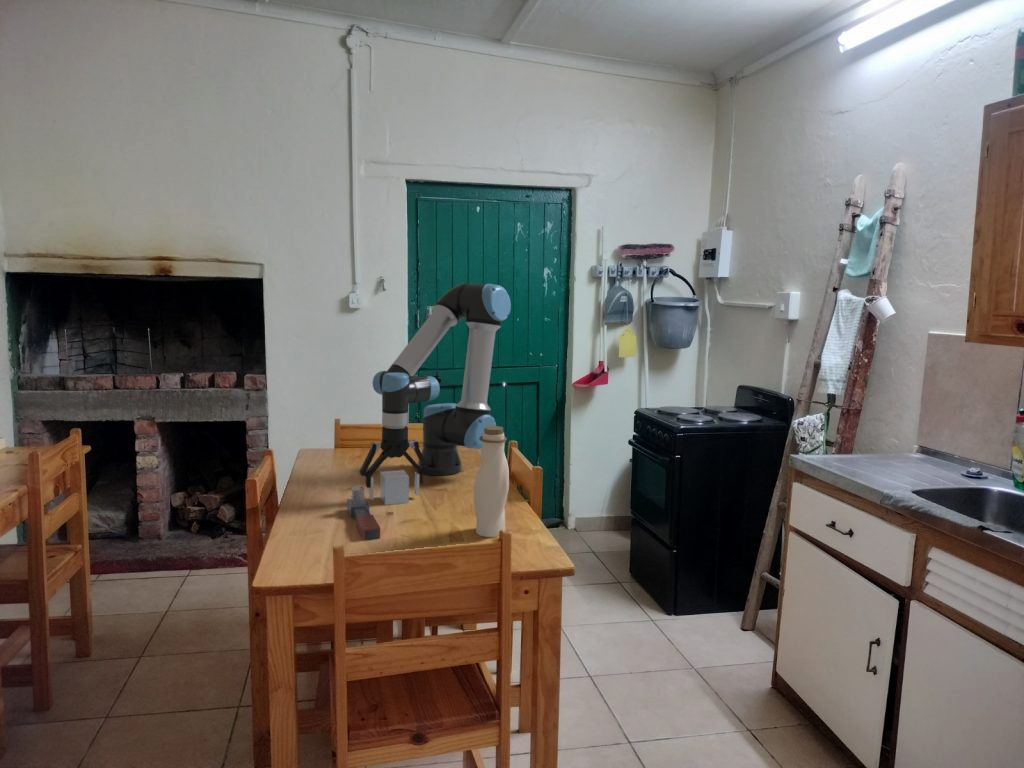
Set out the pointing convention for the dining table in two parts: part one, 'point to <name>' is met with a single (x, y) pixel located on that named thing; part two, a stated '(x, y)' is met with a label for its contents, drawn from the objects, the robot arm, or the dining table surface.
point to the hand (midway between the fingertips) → (394, 496)
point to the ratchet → (362, 515)
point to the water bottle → (491, 483)
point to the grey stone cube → (394, 487)
